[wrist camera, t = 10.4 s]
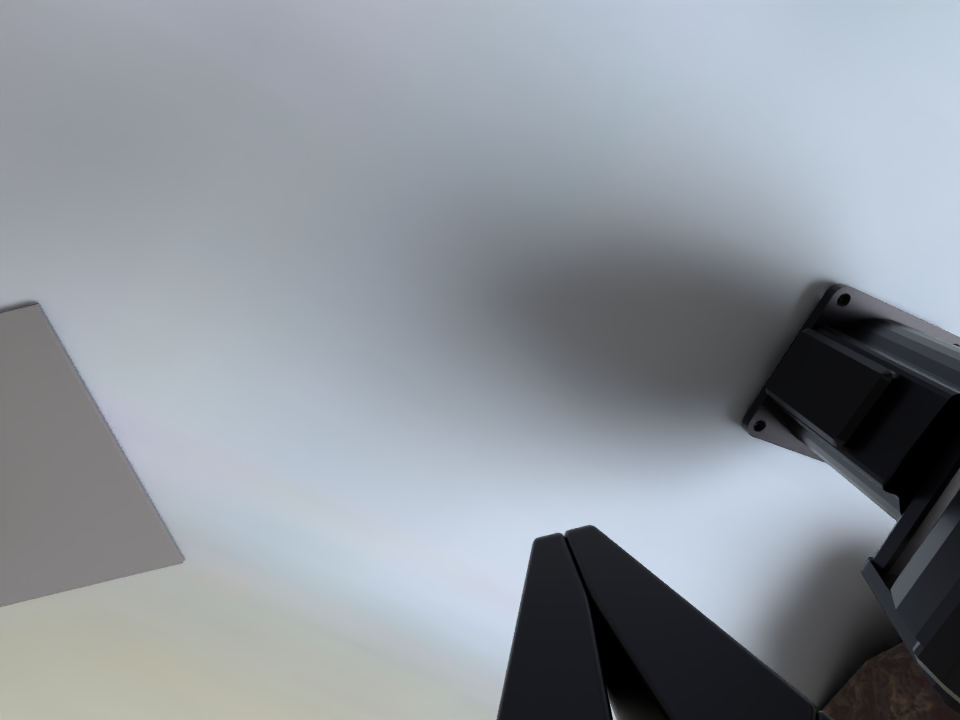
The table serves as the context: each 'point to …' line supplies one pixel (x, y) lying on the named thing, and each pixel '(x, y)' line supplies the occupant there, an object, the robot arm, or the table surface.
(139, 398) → the table surface
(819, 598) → the table surface
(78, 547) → the gray angle bracket
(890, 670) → the stone
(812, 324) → the robot arm
